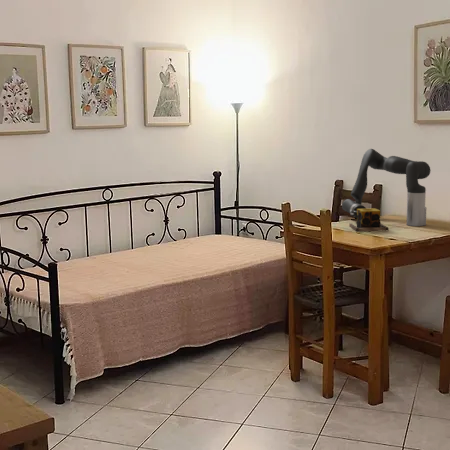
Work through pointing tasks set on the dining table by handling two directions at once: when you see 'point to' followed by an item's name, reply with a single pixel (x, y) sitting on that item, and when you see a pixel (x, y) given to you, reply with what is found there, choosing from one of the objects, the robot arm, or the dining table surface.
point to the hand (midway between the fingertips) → (366, 215)
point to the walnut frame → (382, 227)
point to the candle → (368, 218)
